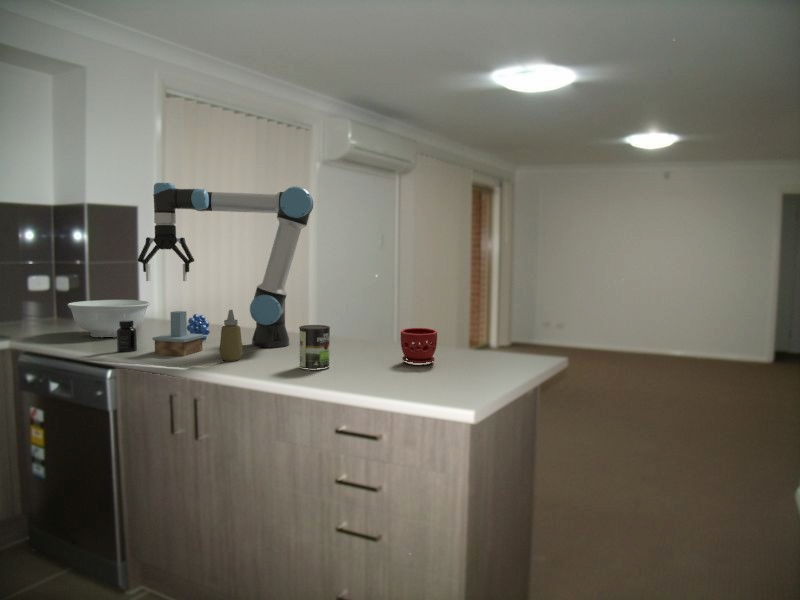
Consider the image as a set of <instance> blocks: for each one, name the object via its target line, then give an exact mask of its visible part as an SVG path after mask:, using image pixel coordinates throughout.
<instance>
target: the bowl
mask: <svg viewBox="0 0 800 600" xmlns="http://www.w3.org/2000/svg"><path fill="white" fill-rule="evenodd" d="M150 303H151V302H150V301H146V300H138V299H103V300H102V299H100V300H99V299H98V300H97V299H96V300H83V301H73V302H70V303H67V307H68V308H69V309H70V311H71V313H72V317H73V320H74V323H75V325H77V326H78V327H79V328H80V329H82V330H84V331H88V332H89V333H90V336H91V337H92V338H98V337H101V339H102V338H103V337H113V338H117V330H118V329H119V328H120V326H119V321H125V320H132V321H133V324H134V326H133V327H134V328H135V329H136V328H137V327H139V326H140V325H141V324H142V323H143V322H144V320H145V316H146V312H147V309H148V307H149V306H150ZM103 339H104V338H103Z"/></svg>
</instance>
